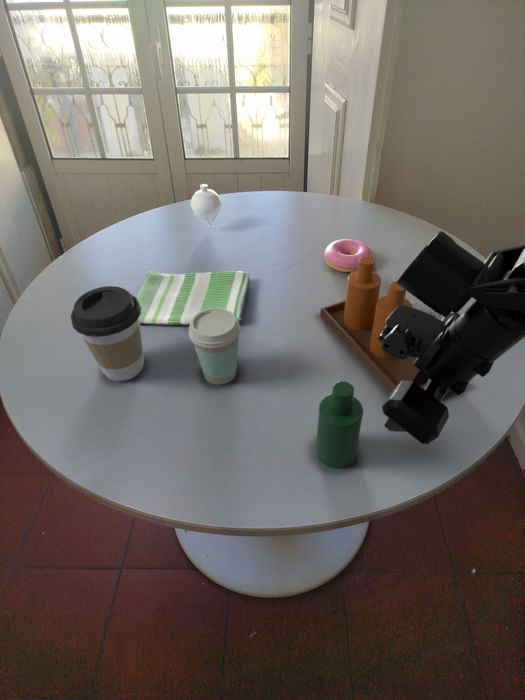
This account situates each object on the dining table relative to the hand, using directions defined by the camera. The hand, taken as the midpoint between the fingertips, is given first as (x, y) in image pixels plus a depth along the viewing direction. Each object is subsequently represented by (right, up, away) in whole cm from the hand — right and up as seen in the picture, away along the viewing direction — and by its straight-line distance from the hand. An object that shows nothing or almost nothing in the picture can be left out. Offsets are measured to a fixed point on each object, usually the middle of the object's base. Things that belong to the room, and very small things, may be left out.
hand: (402, 404), depth 61 cm
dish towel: (-33, +17, +40) cm, 55 cm away
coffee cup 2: (-26, +3, +23) cm, 35 cm away
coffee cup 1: (-44, +4, +25) cm, 51 cm away
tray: (+4, +7, +26) cm, 28 cm away
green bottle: (-7, -8, +10) cm, 15 cm away
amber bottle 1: (+1, +13, +32) cm, 34 cm away
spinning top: (-33, +39, +63) cm, 81 cm away
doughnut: (+2, +27, +49) cm, 56 cm away
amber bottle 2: (+5, +7, +26) cm, 27 cm away
